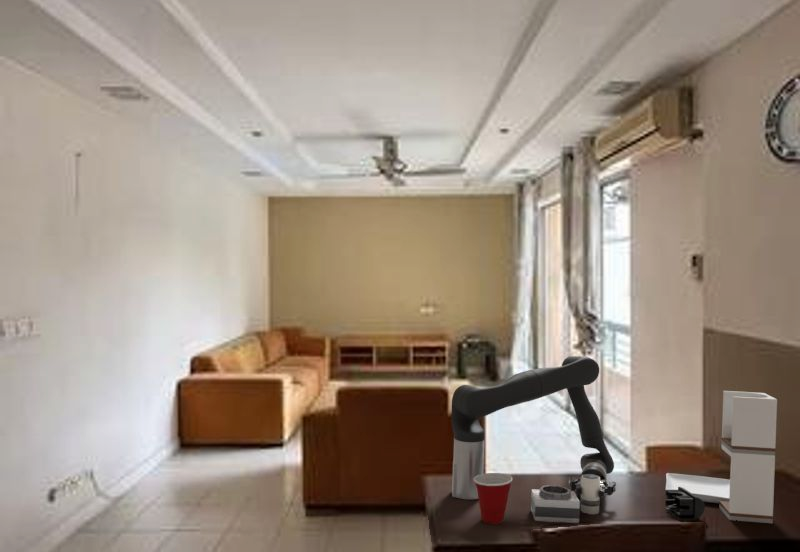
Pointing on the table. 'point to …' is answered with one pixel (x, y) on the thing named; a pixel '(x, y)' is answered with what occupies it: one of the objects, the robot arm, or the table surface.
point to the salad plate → (700, 486)
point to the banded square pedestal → (555, 504)
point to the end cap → (684, 504)
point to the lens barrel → (590, 493)
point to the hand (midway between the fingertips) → (589, 493)
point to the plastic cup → (493, 495)
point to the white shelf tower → (749, 455)
